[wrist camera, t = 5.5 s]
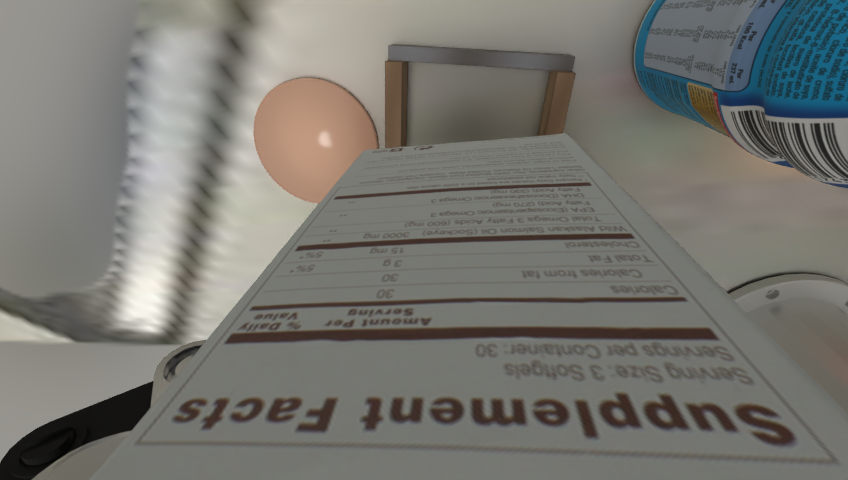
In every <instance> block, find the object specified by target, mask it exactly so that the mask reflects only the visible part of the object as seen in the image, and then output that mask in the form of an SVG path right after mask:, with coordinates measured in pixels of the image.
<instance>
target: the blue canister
mask: <svg viewBox="0 0 848 480" xmlns="http://www.w3.org/2000/svg"><path fill="white" fill-rule="evenodd" d="M634 68H635V73H636V77H637V80H638V82H639V84H640V86H641V88H642V90H643V91H644V93H645V94H646V95H647V96H648V97H649V98H650V99H651V100H652V101H653V102H654V103H655V104H657V105H658V106H660V107H662V108H664V109H666V110H668V111H671V112H673V113H676V114H679V115H682V116H685V117H687V118H690V119H692V120H694V121H696V122H699V123H701V124H703V125H705V126H707V127H709V128H711V129H714V130H716V131H718V132H720V133H722V134H724V135H726V136H728V137H730V138H731V139H732V140H733V141H734V142H735V143H737V144H738V145H739V146H740V147H742V148H743V149H745V150H746V151H748V152H749V153H751V154H753V155H755V156H757V157H759V158H762V159H764V160H767V161H769V162H772V163H775V164H779V165H782V166H786V167H791V168H795V169H797V170H798V171H800V172H801V173H803V174H805V175H807V176H809V177H811V178H813V179H815V180H818V181H820V182H823V183H826V184H830V185H834V186H838V187H843V188H848V0H655V1H654V2H653V4H652V5H651V7H650V8H649V10H648V11H647V13H646V15H645V17H644V19H643V21H642V23H641V26H640V28H639V31H638V34H637V38H636V42H635V48H634Z"/></svg>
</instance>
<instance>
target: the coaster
mask: <svg viewBox="0 0 848 480" xmlns="http://www.w3.org/2000/svg"><path fill="white" fill-rule="evenodd" d="M254 141H255V146H256V150H257V153H258V155H259V158H260V160H261V162H262V164H263V166H264V167H265V169H266V171H267V172H268V173H269V175H270V176H271V177H272V178H273V179H274V181H275V182H276V183H277V184H278V185H280V186H281V187H282V188H283V189H284V190H286V191H287V192H289V193H290V194H292V195H294V196H296V197H298V198H300V199H303V200H305V201H309V202H313V203H320V202H321V201H322V200H323V199H324V197H325V196H326V195H327V194H328V192H329V191H330V190H331V189H332V188H333V186H334V185H335V184H336V183H337V181H338V180H339V179H340V178H341V176H342V175H343V174H344V173H345V172H346V171H347V170H348V168H349V167H350V166H351V165H352V164H353V162H354V161H355V160H356V159H357V158H358V156H359V155H360V154H361V153H362V152H363V151H364V150H370V149H378V139H377V134H376V130H375V127H374V124H373V122H372V120H371V118H370V116H369V114H368V113H367V111H366V109H365V108H364V107H363V105H362V104H361V103H360V102H359V101H358V100H357V99H356V98H355V97H354V96H353V95H352V94H351V93H349V92H348V91H347V90H346V89H344V88H342V87H341V86H339V85H337V84H335V83H332V82H330V81H327V80H323V79H319V78H298V79H294V80H291V81H288V82H284V83H282V84H280V85H279V86H277V87H275V88H274V89H273V90H271V91H270V92H269V93H268V94H267V95H266V96H265V98H264V99H263V101H262V102H261V104H260V106H259V108H258V110H257V113H256V116H255V122H254Z"/></svg>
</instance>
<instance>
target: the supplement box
mask: <svg viewBox="0 0 848 480" xmlns="http://www.w3.org/2000/svg"><path fill="white" fill-rule="evenodd" d="M89 480H848V414H847V413H846V412H845V411H844V410H843V409H842V408H841V407H840V406H839V405H838V404H837V403H836V401H835V400H834V399H833V398H832V397H831V396H830V395H829V394H828V393H827V392H826V391H825V390H824V389H823V388H822V387H821V386H820V385H819V384H818V383H817V382H816V381H814V380H813V379H812V378H811V377H810V376H809V375H808V374H807V373H806V372H805V371H804V370H803V369H802V368H801V367H800V366H799V365H798V364H797V363H796V362H795V361H794V360H793V359H792V358H791V357H790V356H789V355H788V354H787V353H786V352H785V351H784V350H783V349H782V348H781V347H780V346H779V345H778V344H777V343H776V342H775V341H774V340H773V339H772V338H771V337H770V336H769V335H768V334H767V333H766V332H765V331H764V330H763V329H762V328H761V327H760V326H759V325H758V324H757V323H756V322H755V321H754V320H753V319H752V318H751V317H750V316H749V315H748V314H747V313H746V312H745V311H744V310H743V309H742V308H741V307H740V306H739V305H738V304H737V303H736V302H735V301H734V299H733V298H732V297H731V296H730V295H729V294H728V293H727V292H726V291H725V290H724V289H723V288H722V287H721V286H720V285H719V284H718V283H717V282H716V281H715V280H714V279H713V278H712V277H711V276H710V275H709V274H708V273H707V272H706V271H705V270H704V269H703V268H702V267H701V266H700V265H699V264H698V263H697V262H696V261H695V260H694V259H693V258H692V257H691V256H690V255H689V254H688V253H687V252H686V251H685V250H684V249H683V248H682V247H681V246H680V245H679V244H678V243H677V242H676V241H675V240H674V239H673V238H672V237H671V236H670V235H669V234H668V233H667V232H666V231H665V230H664V229H663V228H662V227H661V226H660V225H659V224H658V223H657V222H656V221H655V220H654V219H653V218H652V217H651V216H650V215H649V214H648V213H647V212H646V211H645V210H644V209H643V208H642V207H641V206H640V205H639V204H638V203H637V202H636V201H635V200H634V199H633V198H632V197H631V196H630V195H629V194H628V193H627V192H626V191H625V190H624V189H623V188H622V187H621V186H620V185H618V184H617V182H616V181H615V180H614V179H613V178H612V177H611V176H610V175H609V174H608V173H607V172H606V171H605V170H604V169H603V168H602V167H601V166H600V165H599V164H598V163H597V162H596V161H595V160H594V159H593V158H592V157H591V156H590V155H589V154H588V153H587V152H586V151H585V150H584V149H583V148H582V147H581V146H580V145H579V144H578V143H577V142H576V141H575V140H574V139H573V138H572V137H571V136H570V135H568V134H565V133H562V134H554V135H544V136H532V137H520V138H508V139H496V140H483V141H469V142H457V143H444V144H431V145H418V146H406V147H397V148H382V149H370V150H364V151H363V152H362V153H361V154H360V155H359V156H358V158H357V159H356V160H355V161H354V162H353V164H352V165H351V166H350V167H349V168H348V170H347V171H346V172H345V173H344V174H343V175H342V176H341V178H340V179H339V180H338V181H337V183H336V184H335V185H334V186H333V188H332V189H331V190H330V191H329V192H328V194H327V195H326V196H325V197H324V199H323V200H322V201H321V202H320V203H319V204H318V205H317V207H316V208H315V209H314V210H313V212H312V213H311V214H310V215H309V216H308V218H307V219H306V220H305V221H304V223H303V224H302V225H301V226H300V228H299V229H298V230H297V231H296V232H295V233H294V235H293V236H292V237H291V238H290V240H289V241H288V242H287V243H286V244H285V246H284V247H283V248H282V249H281V250H280V251H279V253H278V254H277V255H276V257H275V258H274V259H273V260H272V262H271V263H270V264H269V265H268V266H267V267H266V269H265V270H264V271H263V273H262V274H261V275H260V276H259V277H258V279H257V280H256V281H255V282H254V284H253V285H252V286H251V287H250V288H249V290H248V291H247V292H246V293H245V294H244V296H243V297H242V298H241V299H240V300H239V302H238V303H237V304H236V305H235V306H234V308H233V309H232V310H231V311H230V312H229V314H228V315H227V316H226V317H225V319H224V320H223V321H222V322H221V323H220V325H219V326H218V327H217V328H216V329H215V331H214V332H213V333H212V334H211V336H210V337H209V338H208V339H207V340H206V342H205V343H204V344H203V345H202V346H201V348H200V349H199V350H198V351H197V352H196V354H195V355H194V356H193V357H192V359H191V360H190V361H189V362H188V363H187V365H186V366H185V367H184V368H183V369H182V371H181V372H180V373H179V374H178V375H177V377H176V378H175V379H174V380H173V381H172V383H171V384H170V385H169V386H168V388H167V389H166V390H165V391H164V392H163V394H162V395H161V396H160V397H159V398H158V400H157V401H156V402H155V403H154V404H153V406H152V407H151V408H150V409H149V410H148V412H147V413H146V414H145V415H144V416H143V418H142V419H141V420H140V421H139V422H138V424H137V425H136V426H135V427H134V428H133V430H132V431H131V432H130V433H129V434H128V435H127V437H126V438H125V439H124V440H123V441H122V442H121V444H120V445H119V446H118V447H117V448H116V449H115V451H114V452H113V453H112V454H111V455H110V456H109V457H108V459H107V460H106V461H105V462H104V463H103V464H102V466H101V467H100V468H99V469H98V470H97V471H96V472H95V474H94V475H93V476H92V477H91V478H90V479H89Z"/></svg>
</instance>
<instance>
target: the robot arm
mask: <svg viewBox="0 0 848 480" xmlns="http://www.w3.org/2000/svg"><path fill="white" fill-rule="evenodd" d="M729 295H730V296H731V297H732V298H733V299H734V301H735V302H736V303H737V304H738V305H739V306H740V307H741V308H742V309H743V310H744V311H745V312H746V313H747V314H748V315H749V316H750V317H751V318H752V319H753V320H754V321H755V322H756V323H757V324H758V325H759V326H760V327H761V328H762V329H763V330H764V331H765V332H766V333H767V334H768V335H769V336H770V337H771V338H772V339H773V340H774V341H775V342H776V343H777V344H778V345H779V346H780V347H781V348H782V349H783V350H784V351H785V352H786V353H787V354H788V355H789V356H790V357H791V358H792V359H793V360H794V361H795V362H796V363H797V364H798V365H799V366H800V367H801V368H802V369H803V370H804V371H805V372H806V373H807V374H808V375H809V376H810V377H811V378H812V379H813V380H814V381H816V382H817V383H818V384H819V385H820V386H821V387H822V388H823V389H824V390H825V391H826V392H827V393H828V394H829V395H830V396H831V397H832V398H833V399H834V400H835V401H836V403H837V404H838V405H839V406H840V407H841V408H842V409H843V410H844V411H845V412H846V413H847V414H848V284H846V283H844V282H842V281H840V280H838V279H834V278H831V277H827V276H823V275H814V274H789V275H782V276H776V277H771V278H767V279H763V280H760V281H757V282H754V283H751V284H748V285H746V286H744V287H742V288H739V289H737V290H735V291H733V292H731V293H730V294H729ZM205 342H206V340H202V341H196V342H192V343H189V344H186V345H183V346H181V347H179V348H177V349H176V350H174V351H172V352H171V353H170V354H168V355H167V356H166V357H164V358H163V360H162V361H161V362H160V363H159V365H158V366H157V368H156V371H155V374H154V381H152V382H150V383H147V384H144V385H142V386H139V387H137V388H135V389H132V390H129V391H127V392H124V393H122V394H119V395H117V396H114V397H112V398H109V399H107V400H104V401H102V402H99V403H97V404H94V405H92V406H89V407H87V408H84V409H82V410H79V411H76V412H74V413H71V414H69V415H66V416H64V417H61V418H59V419H56V420H54V421H51V422H49V423H47V424H45V425H43V426H41V427H39V428H37V429H35V430H34V431H32V432H31V433H29V434H28V435H26V436H25V437H23V438H22V439H21V440H20V441H18V442H17V443H16V444H15V445H14V446H13V447H12V448H11V449H10V450H9V451H8V452H7V454H6V455H5V456H4V458H3V459H2V461H1V463H0V480H89V479H90V478H91V477H92V476H93V475H94V474H95V472H96V471H97V470H98V469H99V468H100V467H101V466H102V464H103V463H104V462H105V461H106V460H107V459H108V457H109V456H110V455H111V454H112V453H113V452H114V451H115V449H116V448H117V447H118V446H119V445H120V444H121V442H122V441H123V440H124V439H125V438H126V437H127V435H128V434H129V433H130V432H131V431H132V430H133V428H134V427H135V426H136V425H137V424H138V422H139V421H140V420H141V419H142V418H143V416H144V415H145V414H146V413H147V412H148V410H149V409H150V408H151V407H152V406H153V404H154V403H155V402H156V401H157V400H158V398H159V397H160V396H161V395H162V394H163V392H164V391H165V390H166V389H167V388H168V386H169V385H170V384H171V383H172V381H173V380H174V379H175V378H176V377H177V375H178V374H179V373H180V372H181V371H182V369H183V368H184V367H185V366H186V365H187V363H188V362H189V361H190V360H191V359H192V357H193V356H194V355H195V354H196V352H197V351H198V350H199V349H200V348H201V346H202V345H203V344H204V343H205Z"/></svg>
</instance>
